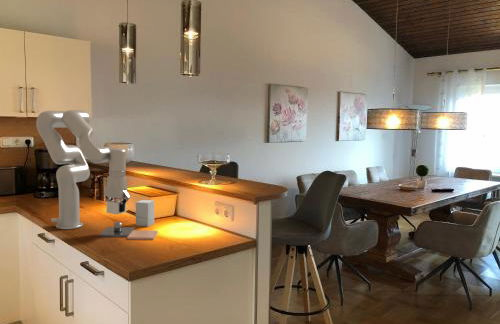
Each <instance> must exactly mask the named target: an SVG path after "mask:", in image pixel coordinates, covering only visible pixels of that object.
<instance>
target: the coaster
mask: <svg viewBox="0 0 500 324" xmlns="http://www.w3.org/2000/svg"><path fill="white" fill-rule="evenodd" d="M157 235H158V230H134V231H132V232H131V233H130V235H129V236H128V237H126V240H141V241H144V240H145V241H146V240H149V241H150V240H153V241H154V240H155V238H156V236H157Z"/></svg>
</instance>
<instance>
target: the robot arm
mask: <svg viewBox="0 0 500 324" xmlns="http://www.w3.org/2000/svg"><path fill="white" fill-rule="evenodd" d="M90 117H91V116H90V115H89V113H87V112H86V111H84V110H78V109H77V110H74V109H73V110H71V109H70V110H66V111H65V110H64V111H62V110H46V111H45V110H44V111H42V112H40V113H39V114H38V115H37V117H36V122H35V124H36V129H37V132H38V134H39V136H40V137H41V139H42V140H43V142H44V144H45V147H46V149H47V152H48V154H49V156H50V158H51V160H52V162H53V163H54V164H56V165H62V166H60V167H58V168H57V170H56V173H55V175H56V178H55V179H56V182H57V187H58V217H57V218H56V217H54V218H53V217H52V218H51V219H50V221H51V223H54V224H55V223H56V224H55V228H56V229H60V230H72V229H78V228H82V227H83V225H84V223H83V222H81V221H80V189H79V187H78V185H77V183H80V182H85V181H87V180H88V179H89V177H90V175H91V170H90V168H89V164H88V163H87V160H86V158H87V159H88V160H89V161H90V162H92V164H103V163H104V164H105V163H109V164H108V165H109V168H108V169H109V170H108V176H107V179H106V184H105V191H104V192H103V194H104V197H105V199H106V202H107V201H112V200H115V199H116V200H120V204H119V212H124V211H125V203H126V204H127V202H128V200H130V199H131V196H130V194H129V193H128V181H127V176H126V173H127V172H126V169H127V168H126V167H127V151H126V149H124V148H116V147H112V146H100V147H98V146H96V145H95V144H94V142H92V141H91V138H92V137H93V135H94V133H95V131H94V129H93V127H92V126H91V125H90V123H91V118H90ZM55 128H56V129H57V128H61V129H64V128H67V129H68V130H69V131H70V132H71V133H72V135H74V136H75V138H77V140H78V146H79V147H78V146H77V145H73V144H66V143H65V142H64V139H63V137H62V135H61V133H59V132H58V131H57V130H56V129H55ZM122 200H123V201H122Z"/></svg>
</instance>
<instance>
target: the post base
mask: <svg viewBox="0 0 500 324" xmlns="http://www.w3.org/2000/svg"><path fill="white" fill-rule="evenodd" d="M122 224H123V223H122V222H121V221H115V222H113V226H107V227H105V229H103V230H102V231H101V232H100V233H99V234H98V237H99V238H100V237H101V238H104V237H105V238H127V237H128V236H129V235H130V233H131V232H132V231H136V227H131V226H130V227H129V226H128V227H127V226H126V227H125V226H123V225H122Z"/></svg>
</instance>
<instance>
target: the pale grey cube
mask: <svg viewBox="0 0 500 324" xmlns="http://www.w3.org/2000/svg"><path fill="white" fill-rule="evenodd" d="M122 201H123V199H122ZM119 204H120V200H119V199H113V200H112V201H107V200H106V214H107V213H108V214H112V215H120V214H124V213H127V202H126V203H125V211H124V212H119Z"/></svg>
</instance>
